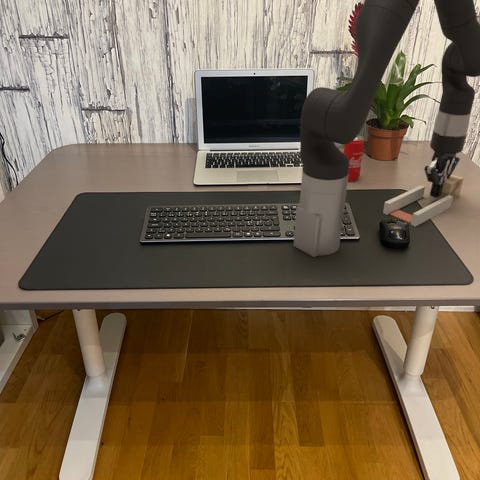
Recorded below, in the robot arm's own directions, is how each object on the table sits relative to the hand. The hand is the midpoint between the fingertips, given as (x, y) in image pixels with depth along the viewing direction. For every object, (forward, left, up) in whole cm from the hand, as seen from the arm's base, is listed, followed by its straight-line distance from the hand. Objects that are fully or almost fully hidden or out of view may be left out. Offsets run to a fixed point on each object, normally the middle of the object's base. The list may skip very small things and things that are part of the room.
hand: (435, 196), depth 126 cm
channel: (-8, 0, -2) cm, 8 cm away
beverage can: (-5, +23, -2) cm, 24 cm away
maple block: (+6, 0, -2) cm, 6 cm away
